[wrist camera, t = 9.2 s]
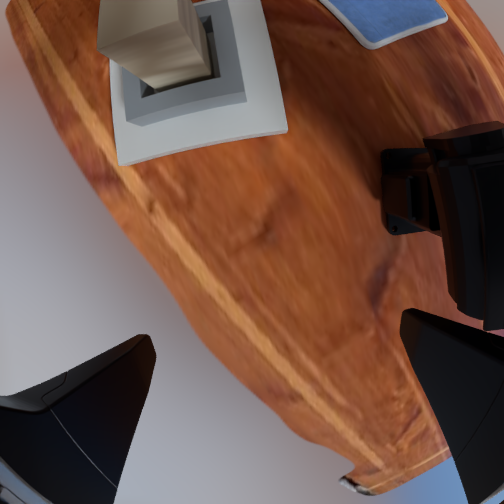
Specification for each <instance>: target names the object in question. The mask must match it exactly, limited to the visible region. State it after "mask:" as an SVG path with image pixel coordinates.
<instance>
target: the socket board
mask: <svg viewBox="0 0 504 504" xmlns="http://www.w3.org/2000/svg"><path fill="white" fill-rule="evenodd" d="M193 5H194V7H195V10H196V12H197V14H198V16H199V18H200V20H201V23H202V25H203V27H204V29H205V32H206V34H207V36H208V38H209V41H210V44H211V51H212V58H213V65H214V72H215V79H210V80H206V81H201V82H197V83H193V84H189V85H185V86H181V87H177V88H174V89H170V90H167V91H163V92H158V91H157V90H156V89H154V88H153V87H151V86H150V85H148V84H147V83H146V82H144V81H143V80H141V79H140V78H138V77H137V76H135V75H134V74H132V73H131V72H129V71H128V70H126V69H125V68H123V67H122V66H120V65H119V64H117V63H116V62H114V61H113V60H111V59H110V85H111V101H112V113H113V124H114V133H115V142H116V150H117V157H118V164H119V166H129V165H132V164H136V163H139V162H143V161H146V160H150V159H154V158H157V157H161V156H165V155H169V154H173V153H177V152H182V151H186V150H190V149H195V148H200V147H204V146H209V145H214V144H219V143H225V142H230V141H236V140H242V139H248V138H254V137H261V136H268V135H275V134H283V133H287V131H288V126H287V120H286V115H285V109H284V104H283V99H282V94H281V89H280V84H279V79H278V74H277V69H276V64H275V60H274V55H273V51H272V46H271V42H270V38H269V33H268V29H267V25H266V21H265V17H264V13H263V9H262V5H261V2H260V0H206V1H202V2H198V3H193Z"/></svg>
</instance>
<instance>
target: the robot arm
mask: <svg viewBox="0 0 504 504" xmlns="http://www.w3.org/2000/svg"><path fill="white" fill-rule="evenodd" d="M423 142H424V145H425V148H400V149H384V150H383V151H382V152H381V163H382V171H383V175H382V177H381V184H382V195H383V208H384V211H385V212H386V217H387V230H388V232H389V233H390V234H392V235H401V234H408V233H415V232H422V231H428V232H431V233H433V234H435V235H438V236H440V237H442V242H443V249H444V256H445V265H446V274H447V284H448V292H449V294H450V296H451V297H452V299H453V300H454V301H455V303H457V309H458V310H459V311H461V312H462V313H464V314H466V315H467V316H469V317H472V318H475V319H478V320H483V330H484V331H483V330H480V329H477V328H474V327H470V326H467V325H464V324H461V323H458V322H455V321H452V320H449V319H446V318H443V317H440V316H437V315H434V314H430V313H427V312H424V311H421V310H418V309H415V308H410V309H405V310H404V311H403V312H402V317H401V324H400V337H401V339H402V342H403V344H404V347H405V349H406V352H407V355H408V357H409V360H410V363H411V365H412V368H413V370H414V372H415V374H416V376H417V378H418V380H419V382H420V384H421V386H422V388H423V390H424V392H425V394H426V396H427V398H428V400H429V403H430V405H431V407H432V409H433V411H434V413H435V416H436V418H437V420H438V422H439V425H440V427H441V429H442V432H443V434H444V436H445V439H446V441H447V444H448V446H449V449H450V451H451V454H452V456H453V459H454V461H455V465H456V468H457V470H458V473H459V476H460V479H461V482H462V485H463V488H464V491H465V494H466V497H467V500H468V504H483V503H485V502H486V501H488V500H489V499H491V498H492V497H494V496H495V495H497V494H498V493H500V492H501V491H502V490H504V337H502V336H499V335H495V334H492V333H487V332H486V331H491V330H499V329H504V124H503V123H501V122H499V121H493V122H486V123H480V124H474V125H469V126H465V127H462V128H458V129H454V130H451V131H447V132H443V133H440V134H436V135H433V136H429V137H426V138H423ZM386 153H388V154H389V158H388V159H387V158H386ZM393 226H395V227H396V228H395V230H394V231H392V227H393ZM155 362H156V352H155V349H154V346H153V343H152V340H151V338H150V336H149V335H147V334H138V335H136V336H134V337H132V338H130V339H129V340H127V341H125V342H123V343H121V344H119V345H117V346H115V347H113V348H112V349H109V350H107V351H106V352H104V353H102V354H100V355H98V356H96V357H94V358H92V359H90V360H88V361H86V362H84V363H82V364H80V365H78V366H76V367H74V368H72V369H70V370H69V371H68V372H64V373H62V374H60V375H58V376H56V377H54V378H52V379H50V380H47V381H45V382H43V383H41V384H38V385H36V386H33V387H31V388H28V389H26V390H23V391H21V392H18V393H16V394H13V395H9V396H0V504H113V503H114V500H115V496H116V492H117V488H118V484H119V481H120V478H121V474H122V471H123V468H124V465H125V461H126V458H127V455H128V452H129V449H130V445H131V442H132V439H133V436H134V433H135V430H136V427H137V424H138V421H139V418H140V415H141V412H142V409H143V406H144V404H145V400H146V398H147V394H148V392H149V387H150V384H151V379H152V374H153V370H154V366H155ZM499 504H504V500H503V501H502V502H501V503H499Z"/></svg>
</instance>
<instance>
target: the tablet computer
mask: <svg viewBox="0 0 504 504" xmlns="http://www.w3.org/2000/svg"><path fill="white" fill-rule="evenodd" d="M319 1H320V2H321V3H322V4H323V5H325V6H326V7H327V8H328V9H329V10H330V11H331V12H332V13H333V14H334V15H335V16H336V17H337V18H338V19H339V20H340V21H341V22H342V23H343V24H344V25H345V27H346V28H347V29H348V30H349V31H350V32H351V33H352V34H353V36H354V37H355V38H356V39H357V40H358V41H359V43H360V44H361V45H362V46H364V47H365V48H367V49H371V50H374V49H377V48H379V47H382V46H384V45H387V44H389V43H391V42H394V41H396V40H398V39H401V38H403V37H406V36H409V35H412V34H414V33H417V32H419V31H422V30H425V29H428V28H430V27H433V26H436V25H439V24H442V23H445V22H446V21H447V20H448V16H447V14H446V12H445V11H444V10H443V9H442V7H441V6H440V5H439V4H438V3H437V2H436V1H435V0H319Z"/></svg>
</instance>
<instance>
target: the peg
mask: <svg viewBox="0 0 504 504" xmlns="http://www.w3.org/2000/svg"><path fill="white" fill-rule="evenodd" d="M97 51H99V52H100V53H102V54H103V55H105V56H106V57H108V58H110V59H111V60H113V61H114V62H116V63H117V64H119V65H120V66H122V67H123V68H125V69H126V70H128V71H129V72H131V73H132V74H134V75H135V76H137V77H138V78H140V79H141V80H143V81H144V82H146V83H147V84H148V85H150V86H151V87H153V88H154V89H156V90H157V91H158V92H163V91H167V90H170V89H174V88H177V87H181V86H185V85H189V84H193V83H197V82H201V81H206V80H210V79H215V72H214V65H213V58H212V51H211V44H210V41H209V38H208V36H207V34H206V32H205V29H204V27H203V25H202V23H201V20H200V18H199V16H198V14H197V12H196V10H195V7H194V5H193V3H192V1H191V0H101V1H100V10H99V20H98V35H97Z"/></svg>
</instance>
